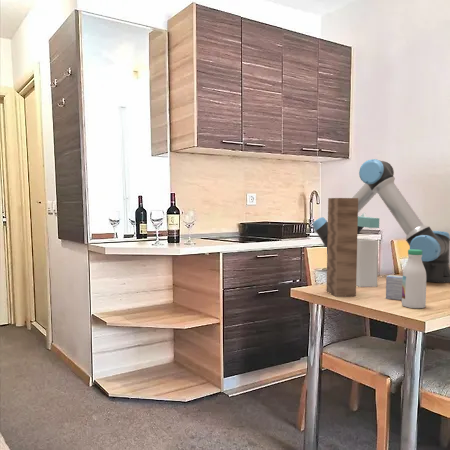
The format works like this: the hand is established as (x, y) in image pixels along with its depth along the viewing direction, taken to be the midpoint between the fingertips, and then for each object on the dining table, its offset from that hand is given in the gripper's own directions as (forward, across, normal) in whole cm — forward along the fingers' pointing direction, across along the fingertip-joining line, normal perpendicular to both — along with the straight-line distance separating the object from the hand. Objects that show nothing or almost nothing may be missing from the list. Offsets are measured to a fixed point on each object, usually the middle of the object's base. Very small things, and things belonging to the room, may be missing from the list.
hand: (359, 215), depth 194 cm
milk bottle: (+23, 0, -48) cm, 54 cm away
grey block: (-12, -1, -28) cm, 31 cm away
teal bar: (0, 0, -5) cm, 5 cm away
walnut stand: (+3, +17, -37) cm, 41 cm away
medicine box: (+13, 0, -43) cm, 45 cm away
